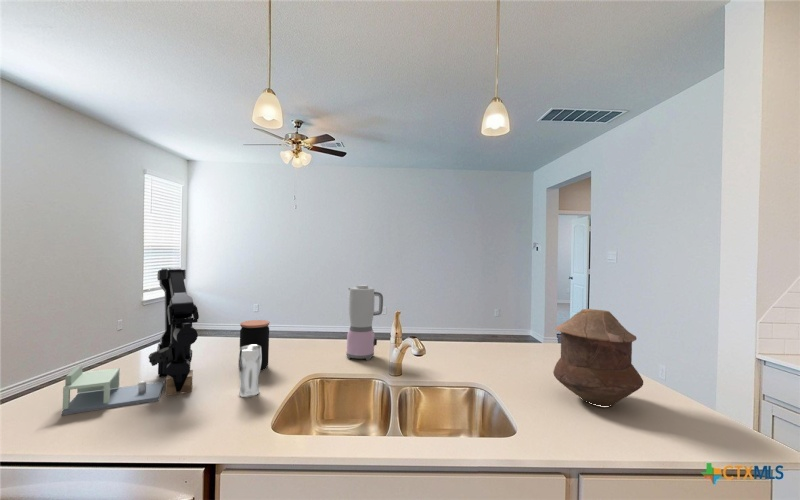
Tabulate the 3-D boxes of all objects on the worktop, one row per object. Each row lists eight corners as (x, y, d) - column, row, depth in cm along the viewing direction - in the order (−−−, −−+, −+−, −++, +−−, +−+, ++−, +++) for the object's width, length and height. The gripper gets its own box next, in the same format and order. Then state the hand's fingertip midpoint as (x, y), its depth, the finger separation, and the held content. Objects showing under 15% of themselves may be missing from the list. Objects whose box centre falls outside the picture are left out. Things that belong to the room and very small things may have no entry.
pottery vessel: (593, 423, 99) (596, 318, 99) (535, 389, 123) (538, 304, 124) (663, 414, 106) (665, 316, 106) (595, 383, 130) (597, 303, 130)
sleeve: (192, 384, 120) (192, 369, 120) (191, 391, 114) (191, 376, 114) (167, 387, 116) (168, 372, 116) (165, 395, 110) (166, 379, 110)
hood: (119, 386, 113) (119, 359, 113) (108, 402, 101) (109, 373, 101) (78, 391, 108) (79, 364, 108) (62, 409, 96) (63, 378, 96)
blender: (343, 360, 149) (345, 286, 149) (348, 352, 161) (350, 283, 161) (380, 362, 149) (382, 287, 149) (382, 353, 161) (384, 284, 161)
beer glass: (265, 391, 115) (266, 346, 115) (249, 399, 109) (251, 351, 109) (248, 388, 118) (249, 343, 118) (232, 396, 111) (233, 349, 111)
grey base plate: (163, 384, 119) (164, 372, 119) (158, 400, 106) (158, 387, 106) (78, 395, 108) (79, 383, 108) (61, 415, 96) (62, 400, 96)
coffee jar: (274, 366, 140) (275, 321, 140) (252, 374, 130) (254, 326, 130) (254, 362, 144) (256, 318, 144) (232, 370, 134) (234, 323, 134)
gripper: (155, 335, 119) (153, 380, 119) (146, 349, 103) (145, 402, 103) (193, 332, 125) (191, 375, 125) (190, 345, 108) (189, 395, 108)
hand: (179, 386), depth 115 cm, fingers open, 9 cm apart
